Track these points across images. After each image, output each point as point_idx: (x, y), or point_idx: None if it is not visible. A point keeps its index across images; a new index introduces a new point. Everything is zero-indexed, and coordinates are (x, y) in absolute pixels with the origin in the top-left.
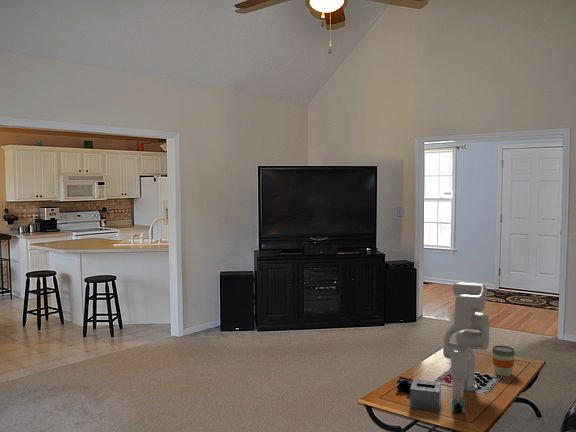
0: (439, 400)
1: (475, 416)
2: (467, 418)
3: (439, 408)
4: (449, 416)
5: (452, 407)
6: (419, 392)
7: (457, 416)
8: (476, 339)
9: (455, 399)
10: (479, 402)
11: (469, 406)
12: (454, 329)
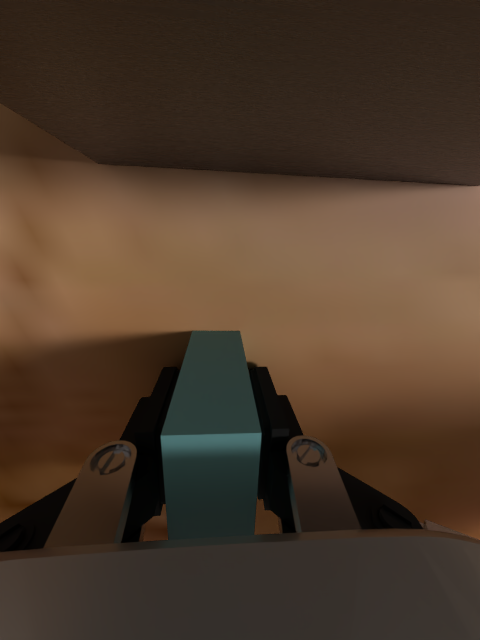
0: (133, 88)
1: (152, 520)
2: (72, 470)
3: (205, 166)
4: (25, 307)
5: (186, 357)
6: None
7: (74, 388)
8: None
9: (202, 493)
10: (454, 527)
11: (363, 472)
12: None
